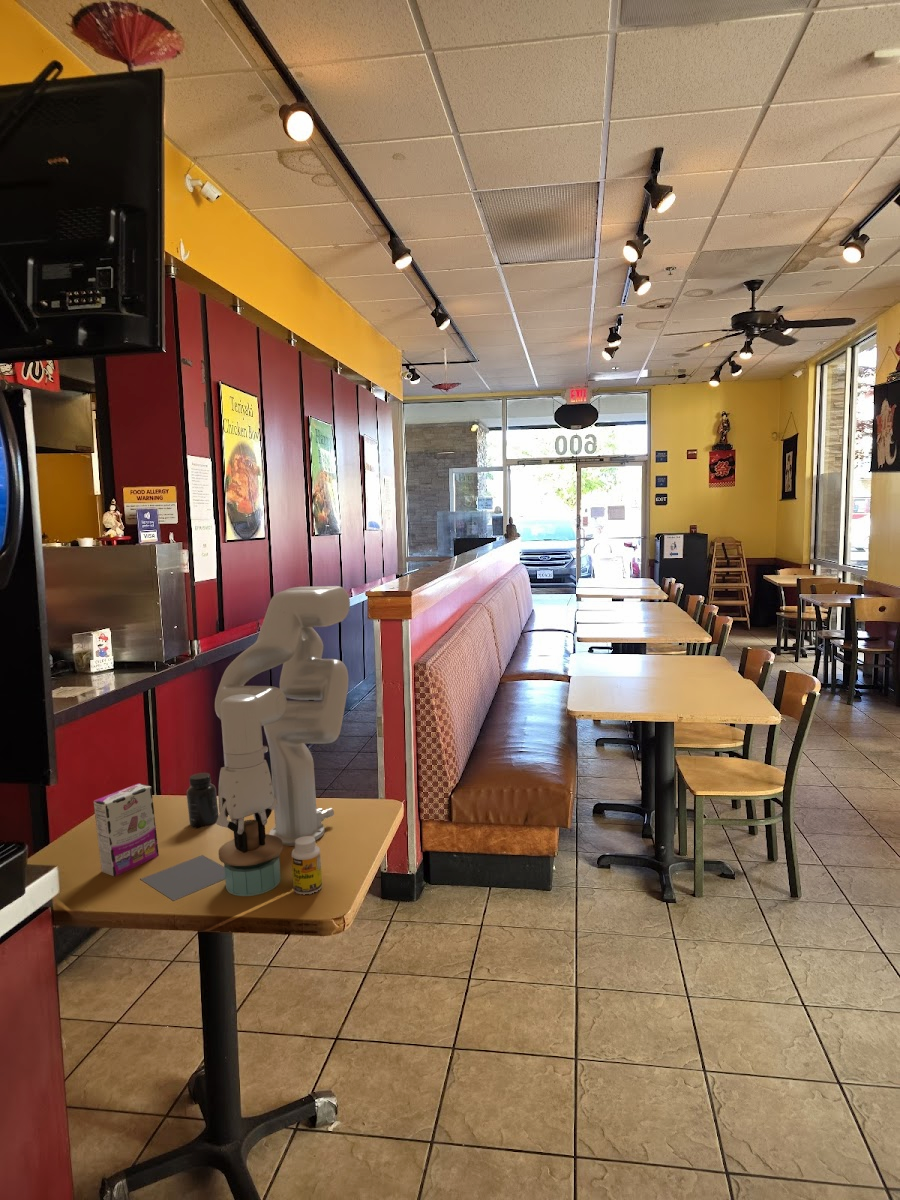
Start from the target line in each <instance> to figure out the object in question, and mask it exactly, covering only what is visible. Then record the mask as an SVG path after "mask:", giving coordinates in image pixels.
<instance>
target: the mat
mask: <svg viewBox="0 0 900 1200" xmlns="http://www.w3.org/2000/svg"><path fill="white" fill-rule="evenodd" d="M140 881H142V882H143V883H145V884H147V885H148V886H150V887H151V888H153V889H155V891H157V892H159V893H160V894H162V895H163V896H165V897H167V899H169V900H171V901H172V902H175V901H177V900H179V899H182V898H185V897H186V896H188V895H191V894H194V893H196V892H198V891H201V890H203V889H206V888H208V887H210V886H212V885H215V884H217V883H220V882H222V881H225V869H224V865H222V864H220V863H218V862H216V861H215V860H212V858H211V859H210V858H209V857H207V856H205V855H204V854H201V855H199V856H196V857H193V858H192V859H188V860H186V861H184V862H181V863H178V864H176V865H173V866H170V867H168V868H165V869H163V870H160V871H157V872H156V873H153V874H150V875H148V876H144V877H142V878H140Z"/></svg>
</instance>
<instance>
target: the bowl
mask: <svg viewBox="0 0 900 1200" xmlns="http://www.w3.org/2000/svg"><path fill="white" fill-rule="evenodd" d="M223 864H224V865H223V866H224V869H225V880H224V881H225V889H226V890H227V892H228V893H229V894H231V895H234V896H238V897H251V896H259V895H262V894H265V893H267V892H269V891H271V890H274V888H276V887H277V886H279V884H280V882H281V880H282V878H281V877H282V876H281V863H280V854H279V855H278V856H276V857H275V858H273V859H271V860H269V861H266V862H263V863H260V864H255V865H249V866H232V865H227V864H225V863H223Z"/></svg>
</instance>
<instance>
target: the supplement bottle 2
mask: <svg viewBox="0 0 900 1200" xmlns="http://www.w3.org/2000/svg"><path fill="white" fill-rule="evenodd" d="M321 864H322V862H321V849H320V847H319V846H317V843H316V840H315V838H314V837H312V836H303V837H300V838H297V839H296V840H295V846H294V848H293V849H292V851H291V867H292V869H291V871H292V881H293V882H292V883H293V885H292V887H293V891H294V892H295V893H296V894H298V895H301V894H303V896H304V895H305V894H309V895H312V893H313V894H315V893H314V892H316V893H317V892H319V891H320V890H321V889H322V887H323V886H322V885H323V882H322V880H323V879H322V876H323V875H322V865H321ZM318 890H319V891H318ZM305 896H306V895H305Z"/></svg>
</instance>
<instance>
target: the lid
mask: <svg viewBox="0 0 900 1200" xmlns="http://www.w3.org/2000/svg"><path fill="white" fill-rule="evenodd" d="M243 832H245V833H246V836H247V849H248V850H247V852H245V853H243V852H241V851H239V850H237V849H236V847H235V842H234V838H233V839H231V840H229V841H227V842H226V843H224V844H223V845H221V846H220V847H219V849H218V859H219V861H220V862H221V863H222V864H224V863H225V864H227V865H232V866H249V865H255V864H260V863H263V862H266V861H269V860H271V859H273V858H275V857H276V856H278V855H279V856H280V854H281V853H282V852H283V849H284V845H283V843H282V840H281V839H280V838H279V837H277V836H273V835H269V833H268V834H267V833H265V836H266V837H265V845H260V844H259V832H258V821H257V820H254V819H247V820H244V830H243Z"/></svg>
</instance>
